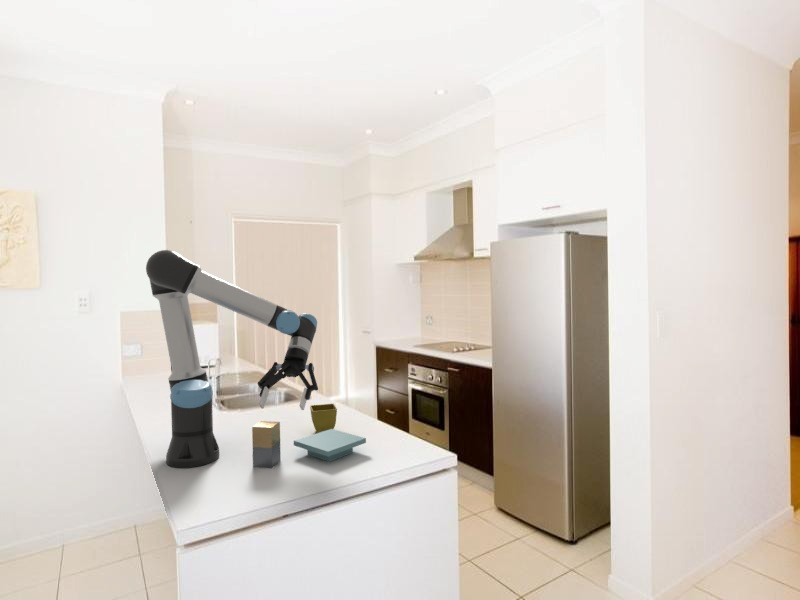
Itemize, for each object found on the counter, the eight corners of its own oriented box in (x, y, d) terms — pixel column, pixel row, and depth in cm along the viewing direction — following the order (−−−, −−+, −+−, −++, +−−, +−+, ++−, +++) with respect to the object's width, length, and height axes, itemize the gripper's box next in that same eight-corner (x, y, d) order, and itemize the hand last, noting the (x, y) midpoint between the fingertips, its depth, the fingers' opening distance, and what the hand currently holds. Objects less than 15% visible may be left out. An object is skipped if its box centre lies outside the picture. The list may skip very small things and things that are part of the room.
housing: (253, 467, 148) (252, 426, 148) (262, 459, 154) (261, 421, 154) (272, 468, 147) (271, 427, 147) (280, 460, 153) (279, 421, 153)
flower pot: (312, 436, 177) (312, 411, 177) (310, 429, 185) (309, 405, 185) (337, 434, 179) (337, 409, 179) (334, 427, 188) (333, 403, 187)
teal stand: (293, 454, 158) (293, 440, 158) (331, 441, 171) (331, 428, 171) (328, 466, 148) (328, 451, 148) (366, 452, 160) (365, 438, 160)
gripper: (335, 360, 175) (321, 414, 161) (267, 358, 179) (248, 411, 165) (330, 346, 169) (315, 402, 155) (260, 345, 174) (240, 399, 160)
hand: (281, 407), depth 160 cm, fingers open, 13 cm apart
